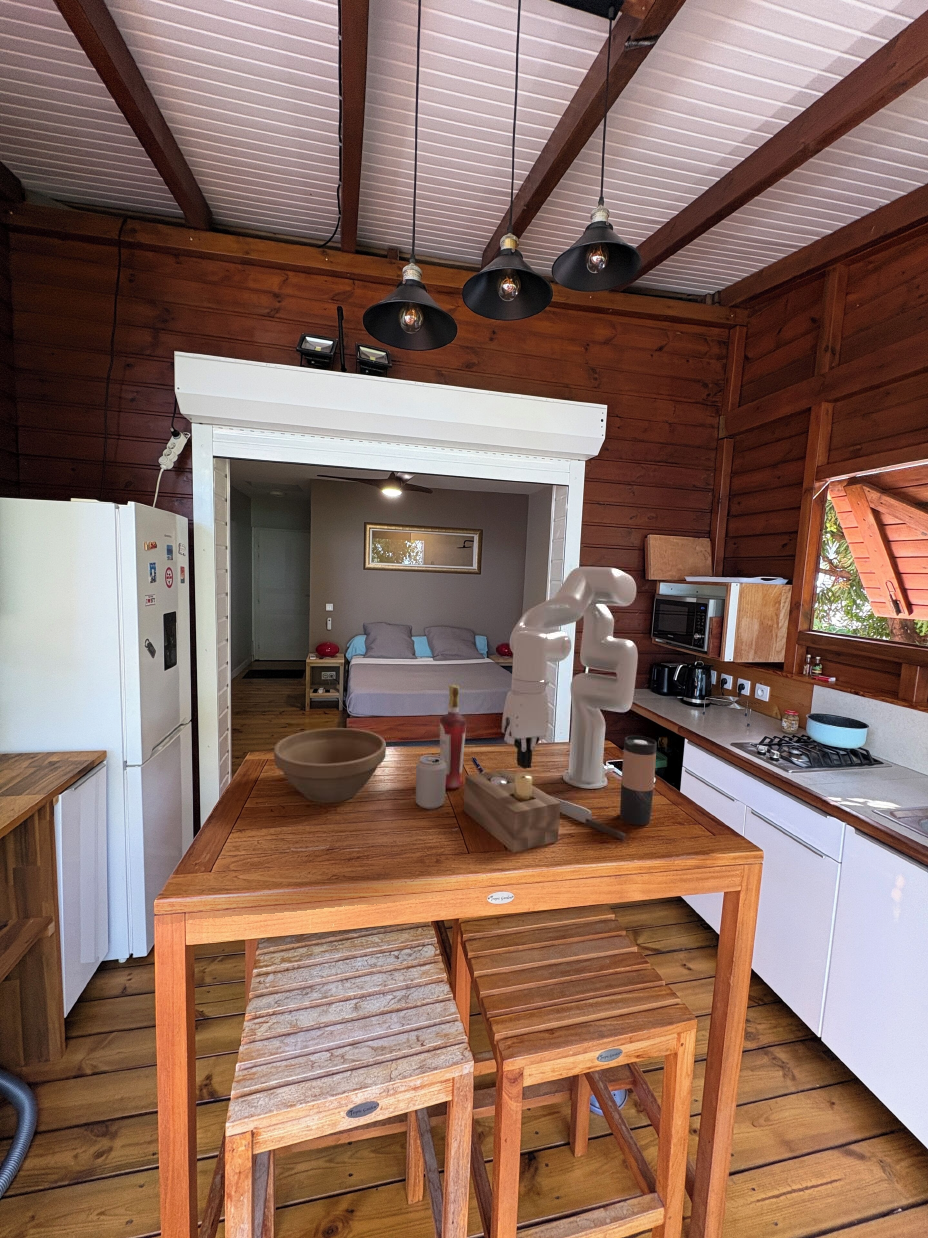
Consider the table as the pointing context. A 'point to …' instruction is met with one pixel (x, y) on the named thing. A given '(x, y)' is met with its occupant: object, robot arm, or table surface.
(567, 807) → the kitchen knife
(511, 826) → the socket block
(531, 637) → the robot arm
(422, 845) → the table surface
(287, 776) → the brown mixing bowl
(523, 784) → the brass peg
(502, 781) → the steel peg
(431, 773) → the can
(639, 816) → the travel mug
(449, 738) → the liquor
